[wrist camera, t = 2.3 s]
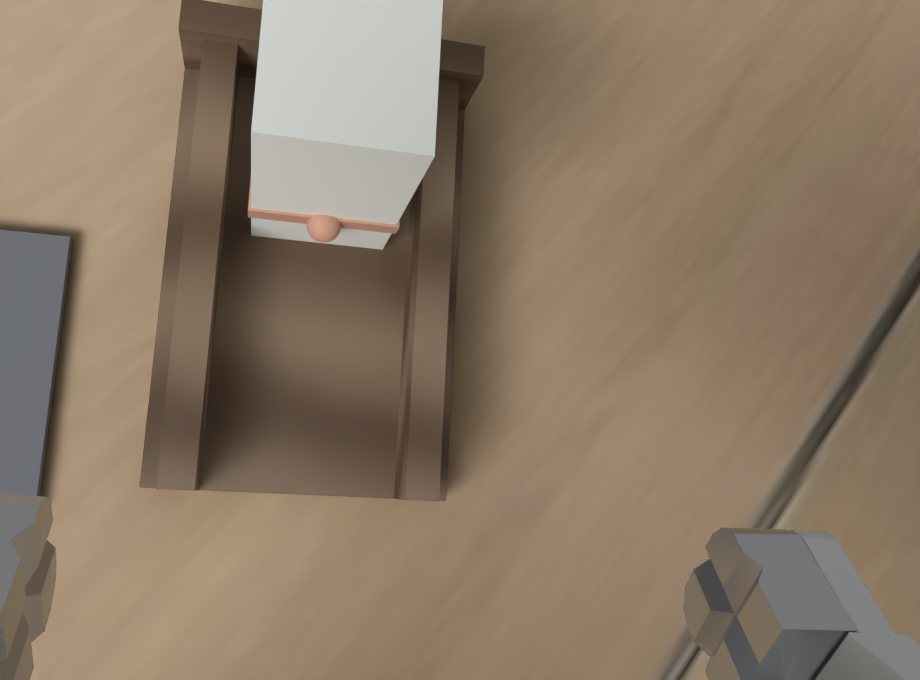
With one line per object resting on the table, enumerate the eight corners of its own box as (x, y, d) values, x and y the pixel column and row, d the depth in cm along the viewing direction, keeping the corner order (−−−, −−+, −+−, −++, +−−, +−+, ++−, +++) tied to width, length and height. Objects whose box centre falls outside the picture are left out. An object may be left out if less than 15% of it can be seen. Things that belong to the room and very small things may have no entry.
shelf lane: (437, 500, 34) (464, 502, 30) (144, 487, 32) (128, 487, 27) (457, 97, 37) (484, 46, 33) (190, 57, 35) (182, -3, 30)
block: (384, 269, 34) (436, 184, 24) (246, 255, 33) (244, 159, 23) (392, 126, 35) (447, -10, 25) (259, 108, 34) (263, -43, 24)
